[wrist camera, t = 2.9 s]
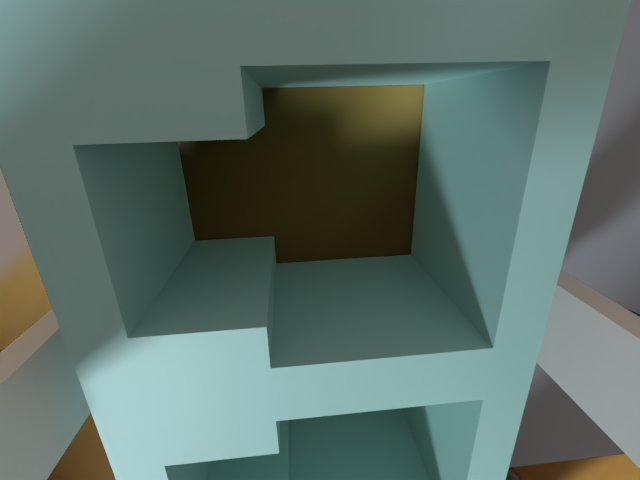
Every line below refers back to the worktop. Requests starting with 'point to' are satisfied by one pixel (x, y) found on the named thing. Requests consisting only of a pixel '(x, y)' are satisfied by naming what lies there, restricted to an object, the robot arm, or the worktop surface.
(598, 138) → the board
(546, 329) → the robot arm
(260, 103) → the teal breeze block
